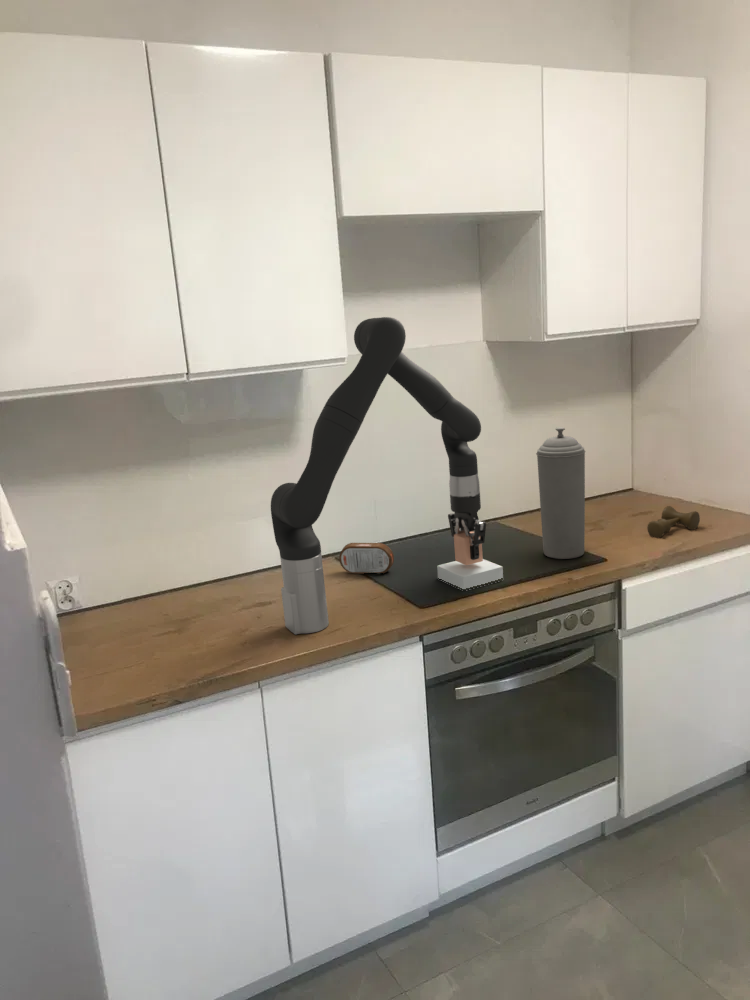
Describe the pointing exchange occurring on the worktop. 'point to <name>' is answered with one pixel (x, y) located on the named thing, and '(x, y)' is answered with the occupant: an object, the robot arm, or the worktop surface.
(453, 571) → the white block
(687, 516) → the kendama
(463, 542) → the terracotta block
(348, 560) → the tin
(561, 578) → the worktop surface
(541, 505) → the canister
